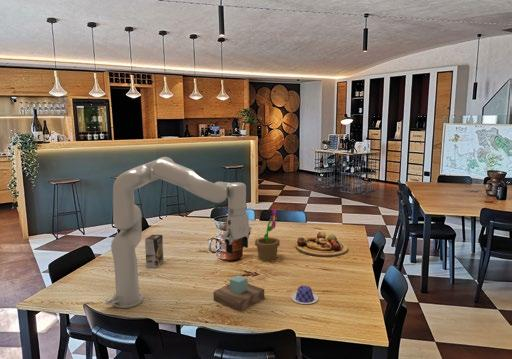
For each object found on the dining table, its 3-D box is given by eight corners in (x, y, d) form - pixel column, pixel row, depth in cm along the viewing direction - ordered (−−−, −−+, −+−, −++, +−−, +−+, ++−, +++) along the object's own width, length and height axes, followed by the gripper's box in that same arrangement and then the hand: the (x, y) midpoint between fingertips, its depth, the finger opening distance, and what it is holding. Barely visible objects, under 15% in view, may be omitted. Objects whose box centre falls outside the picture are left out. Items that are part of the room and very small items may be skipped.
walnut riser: (239, 311, 157) (239, 302, 156) (213, 300, 167) (213, 291, 166) (264, 297, 169) (264, 289, 168) (238, 287, 179) (238, 279, 178)
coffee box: (156, 268, 204) (155, 239, 202) (146, 267, 206) (144, 238, 203) (164, 262, 213) (162, 234, 211) (153, 261, 214) (152, 233, 212)
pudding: (287, 294, 172) (287, 283, 171) (312, 291, 175) (312, 280, 174) (296, 307, 161) (296, 295, 160) (322, 303, 163) (322, 292, 162)
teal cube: (239, 294, 163) (238, 282, 163) (230, 290, 167) (229, 279, 166) (247, 290, 168) (247, 278, 167) (238, 286, 171) (238, 275, 170)
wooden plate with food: (291, 255, 222) (292, 242, 220) (298, 238, 252) (299, 226, 251) (347, 260, 214) (348, 247, 213) (348, 242, 245) (348, 230, 244)
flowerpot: (276, 264, 208) (275, 210, 204) (251, 261, 213) (250, 209, 208) (282, 255, 222) (282, 205, 217) (259, 252, 226) (259, 203, 222)
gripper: (229, 216, 153) (229, 257, 155) (257, 209, 166) (256, 246, 168) (216, 213, 158) (216, 252, 160) (244, 206, 171) (244, 243, 173)
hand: (237, 249), depth 164 cm, fingers open, 9 cm apart
